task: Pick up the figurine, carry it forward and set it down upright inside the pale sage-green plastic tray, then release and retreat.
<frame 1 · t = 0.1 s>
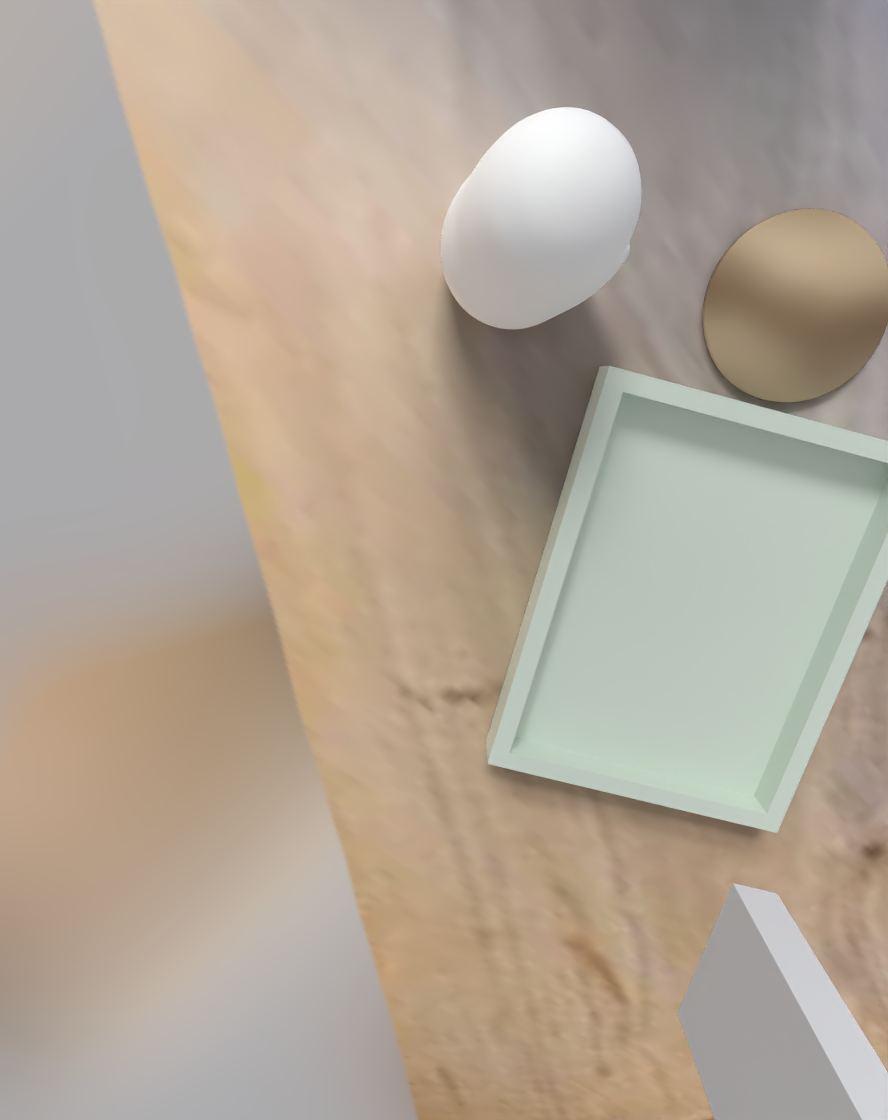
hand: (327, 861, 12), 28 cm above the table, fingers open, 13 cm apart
metal coaster: (793, 309, 35), on the table
figurine: (517, 256, 35), on the table
tray: (686, 604, 40), on the table
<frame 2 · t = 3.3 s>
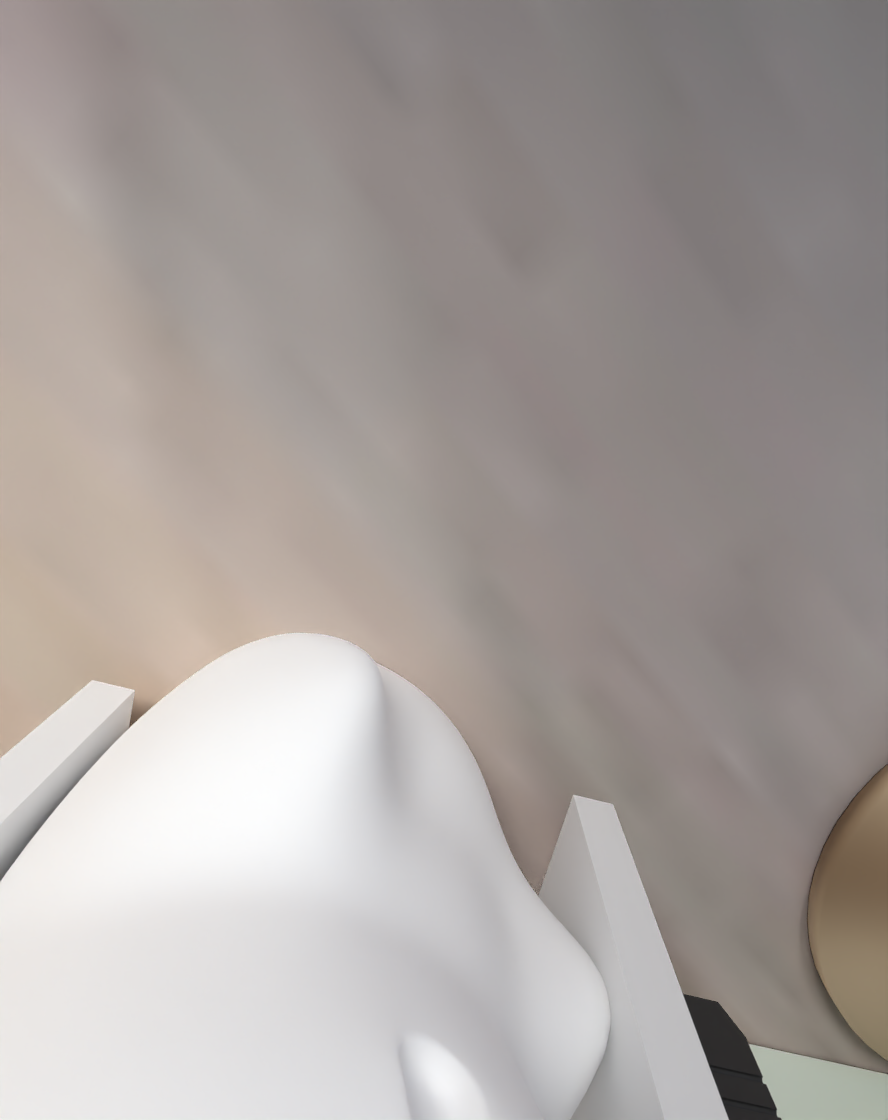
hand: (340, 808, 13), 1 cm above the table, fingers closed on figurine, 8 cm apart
figurine: (331, 771, 14), on the table, touching gripper
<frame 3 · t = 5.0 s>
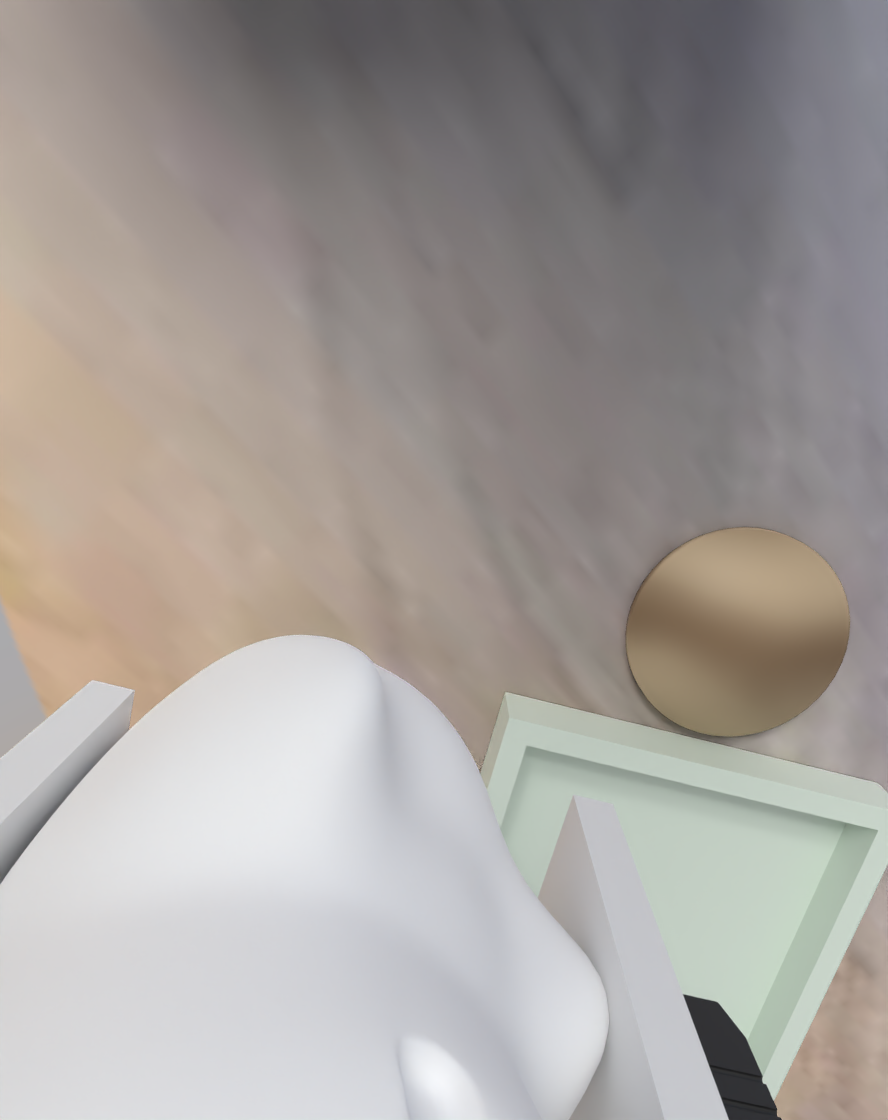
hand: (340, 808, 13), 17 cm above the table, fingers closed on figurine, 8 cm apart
metal coaster: (733, 632, 30), on the table
figurine: (330, 772, 14), point 16 cm above the table, touching gripper
tray: (615, 942, 34), on the table
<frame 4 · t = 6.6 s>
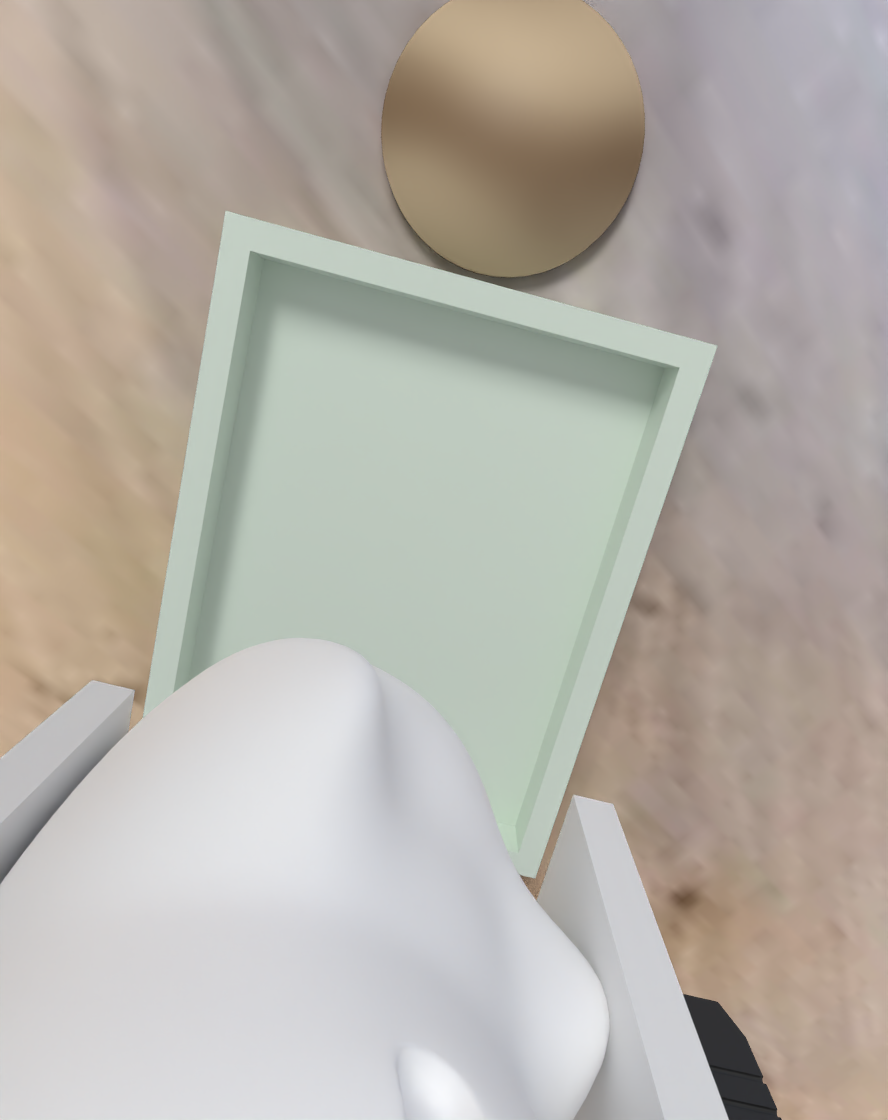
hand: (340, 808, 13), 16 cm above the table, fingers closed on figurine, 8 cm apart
metal coaster: (511, 139, 25), on the table
figurine: (329, 775, 14), point 15 cm above the table, touching gripper
tray: (403, 567, 29), on the table
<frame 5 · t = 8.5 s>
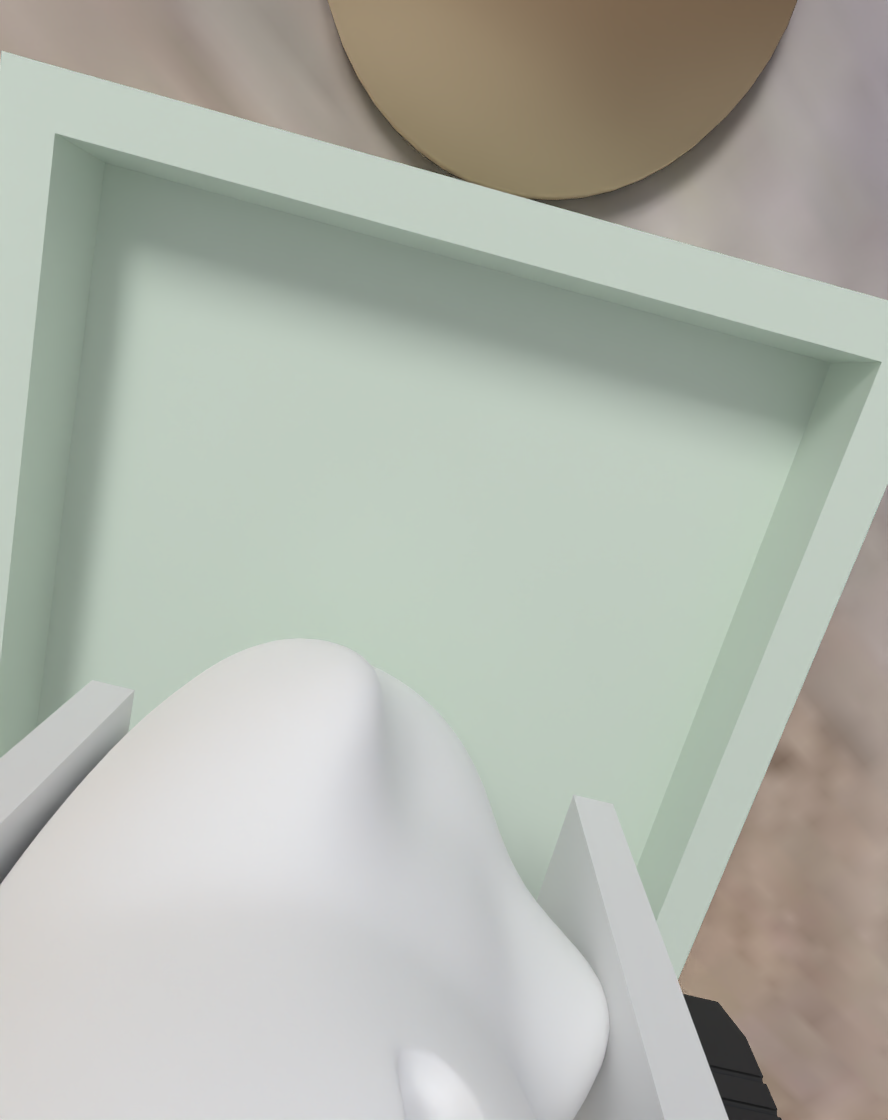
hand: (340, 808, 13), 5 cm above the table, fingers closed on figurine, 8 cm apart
figurine: (329, 775, 14), point 4 cm above the table, touching gripper
tray: (369, 696, 17), on the table
when the fingers open (3 cm above the table, at t = 9.7 s): figurine drops 2 cm, resting on tray.
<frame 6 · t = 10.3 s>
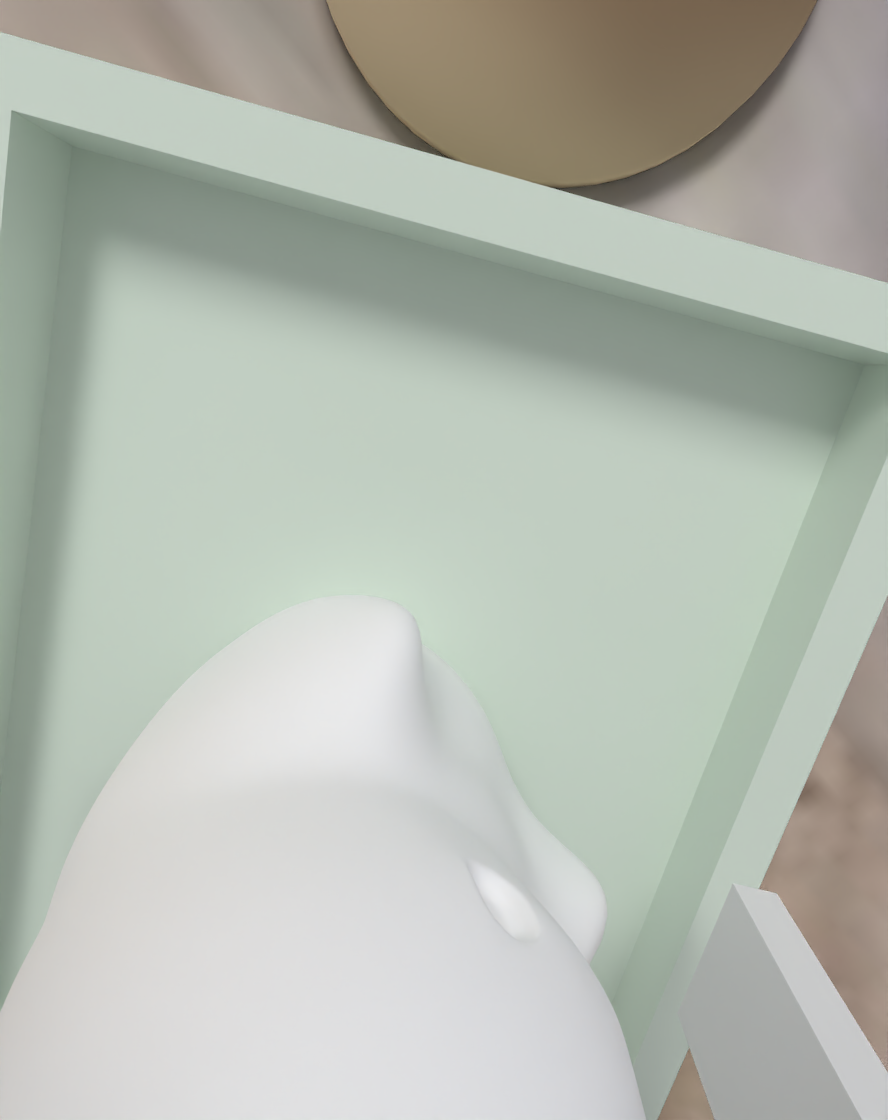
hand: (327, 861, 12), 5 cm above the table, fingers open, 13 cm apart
figurine: (350, 730, 16), point 1 cm above the table, touching tray
tray: (363, 723, 16), on the table
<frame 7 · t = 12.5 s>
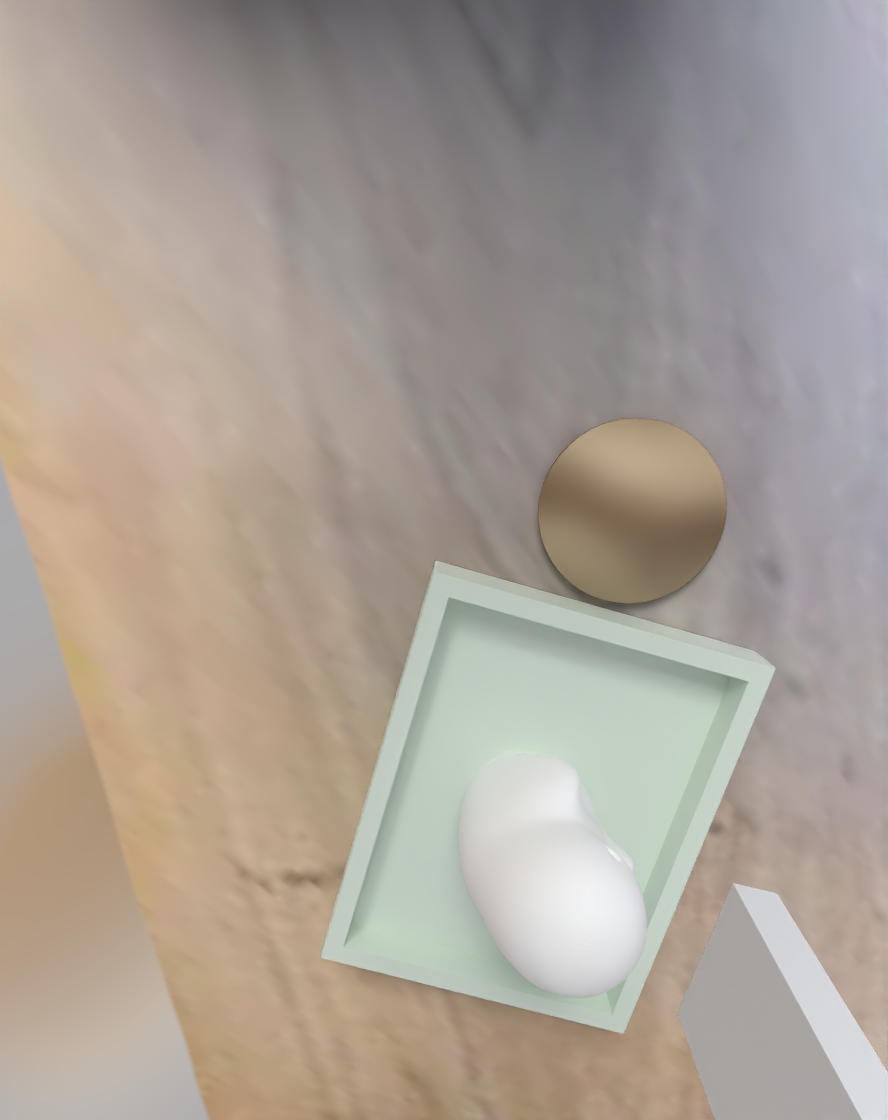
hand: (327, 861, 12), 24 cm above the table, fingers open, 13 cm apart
metal coaster: (630, 511, 35), on the table
figurine: (528, 797, 38), resting on tray
tray: (531, 794, 38), on the table
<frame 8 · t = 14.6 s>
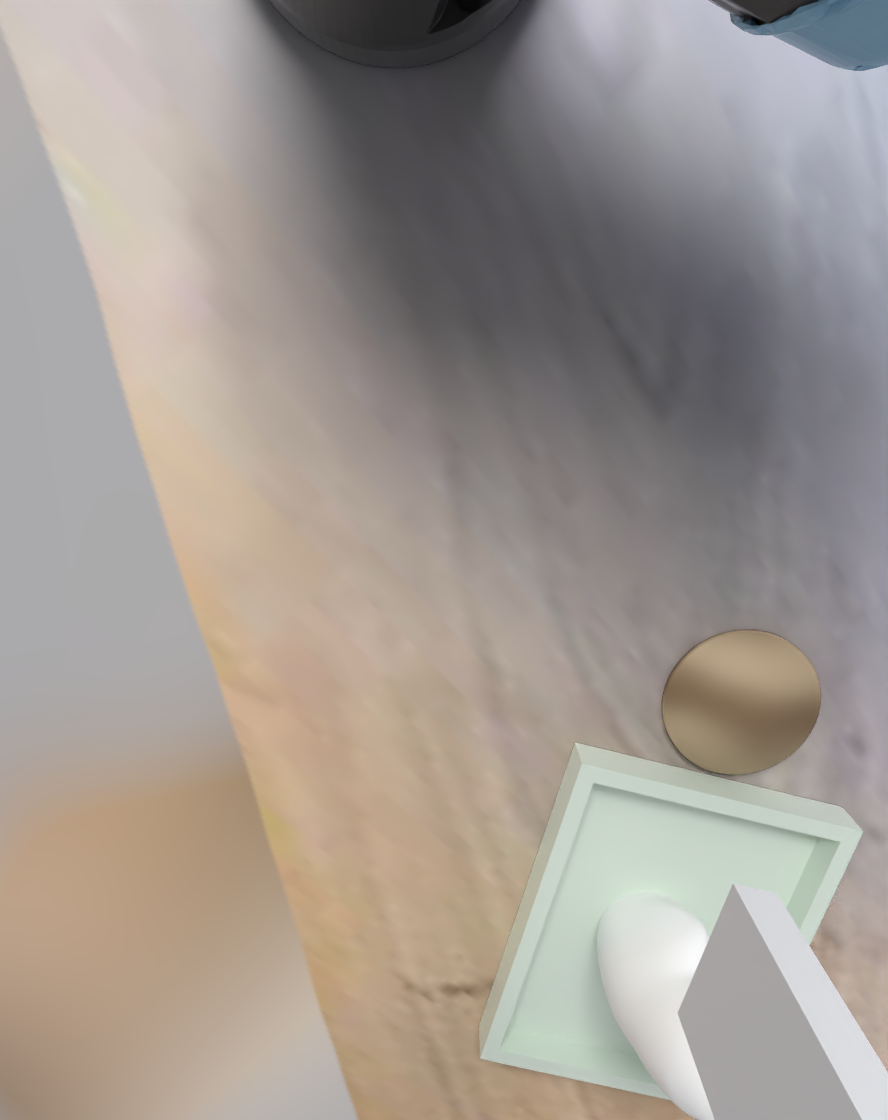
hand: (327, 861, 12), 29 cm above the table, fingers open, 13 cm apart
metal coaster: (738, 701, 42), on the table
figurine: (649, 925, 45), resting on tray
tray: (651, 921, 46), on the table
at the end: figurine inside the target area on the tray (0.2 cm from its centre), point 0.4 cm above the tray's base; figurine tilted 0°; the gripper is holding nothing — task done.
